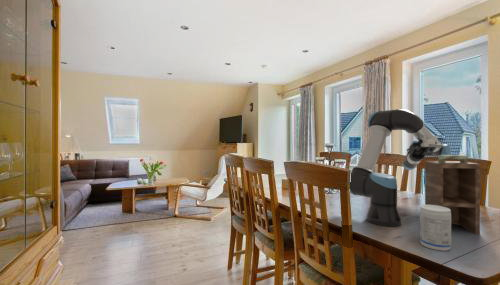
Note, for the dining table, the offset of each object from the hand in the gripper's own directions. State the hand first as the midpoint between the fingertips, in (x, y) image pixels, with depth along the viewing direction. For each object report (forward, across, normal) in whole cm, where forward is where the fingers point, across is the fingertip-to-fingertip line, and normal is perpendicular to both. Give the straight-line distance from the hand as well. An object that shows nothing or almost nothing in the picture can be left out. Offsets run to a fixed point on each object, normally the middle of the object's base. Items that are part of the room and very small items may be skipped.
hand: (430, 137), depth 132 cm
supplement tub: (+19, +17, -57) cm, 63 cm away
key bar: (-1, 0, -5) cm, 5 cm away
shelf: (-3, +1, -46) cm, 46 cm away
